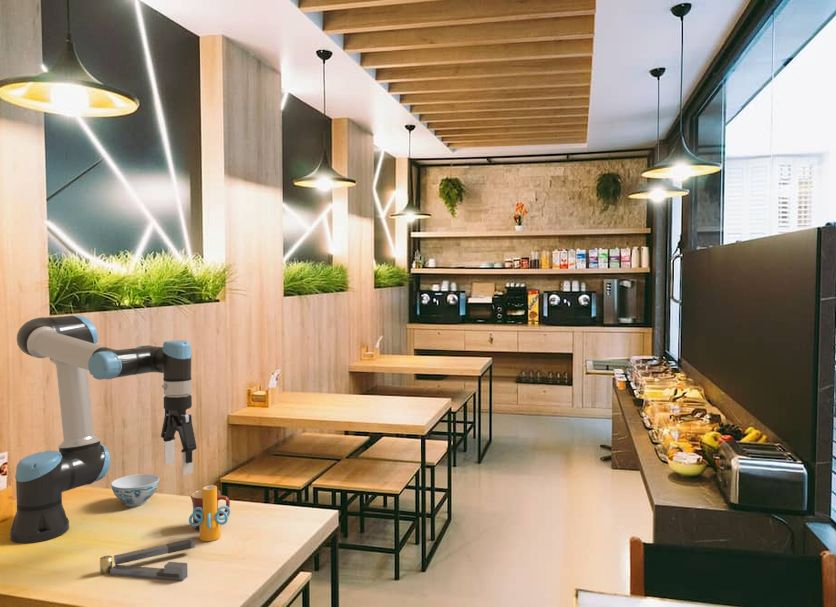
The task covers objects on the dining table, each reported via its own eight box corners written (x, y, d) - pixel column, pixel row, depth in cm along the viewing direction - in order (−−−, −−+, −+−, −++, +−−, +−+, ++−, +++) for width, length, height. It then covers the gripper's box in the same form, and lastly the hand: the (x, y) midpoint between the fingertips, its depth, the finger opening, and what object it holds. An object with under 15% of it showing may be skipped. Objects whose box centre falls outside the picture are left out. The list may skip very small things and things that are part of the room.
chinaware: (128, 514, 204) (127, 490, 203) (102, 505, 212) (101, 482, 212) (168, 501, 216) (168, 478, 216) (142, 492, 224) (142, 471, 224)
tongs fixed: (97, 574, 162) (97, 559, 162) (104, 569, 165) (104, 555, 165) (182, 581, 158) (181, 566, 158) (187, 576, 161) (187, 561, 161)
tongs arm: (115, 565, 163) (115, 558, 163) (114, 561, 165) (113, 555, 165) (194, 547, 174) (194, 541, 174) (192, 544, 176) (192, 538, 176)
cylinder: (238, 533, 188) (238, 484, 188) (216, 547, 178) (216, 495, 178) (204, 528, 192) (204, 480, 192) (181, 541, 182) (180, 490, 182)
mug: (185, 531, 190) (185, 497, 190) (198, 520, 199) (198, 488, 198) (223, 532, 189) (223, 499, 189) (235, 521, 198) (234, 489, 197)
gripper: (149, 390, 186) (149, 461, 187) (181, 402, 168) (182, 481, 168) (174, 387, 191) (175, 456, 192) (208, 399, 173) (209, 475, 173)
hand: (178, 468), depth 180 cm, fingers open, 13 cm apart
